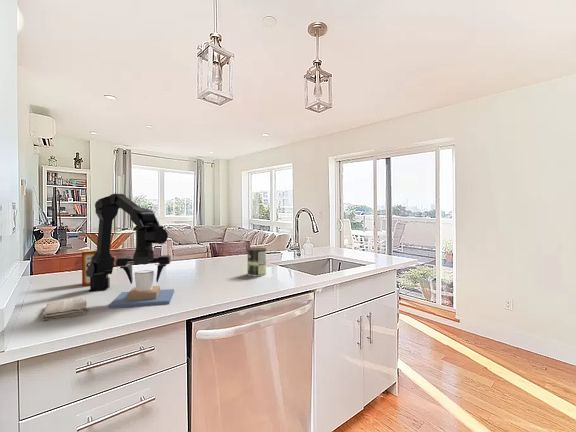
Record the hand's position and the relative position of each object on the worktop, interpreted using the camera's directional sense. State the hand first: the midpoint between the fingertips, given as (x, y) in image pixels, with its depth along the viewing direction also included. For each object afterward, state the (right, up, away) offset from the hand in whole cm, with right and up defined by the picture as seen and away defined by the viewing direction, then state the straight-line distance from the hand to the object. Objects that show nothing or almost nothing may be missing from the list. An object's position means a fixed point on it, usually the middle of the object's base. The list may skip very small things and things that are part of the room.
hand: (144, 282), depth 120 cm
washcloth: (-21, -7, -14) cm, 26 cm away
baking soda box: (-36, -6, +27) cm, 45 cm away
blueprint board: (0, -6, 0) cm, 6 cm away
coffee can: (+39, -6, +48) cm, 62 cm away
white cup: (0, -3, 0) cm, 3 cm away
